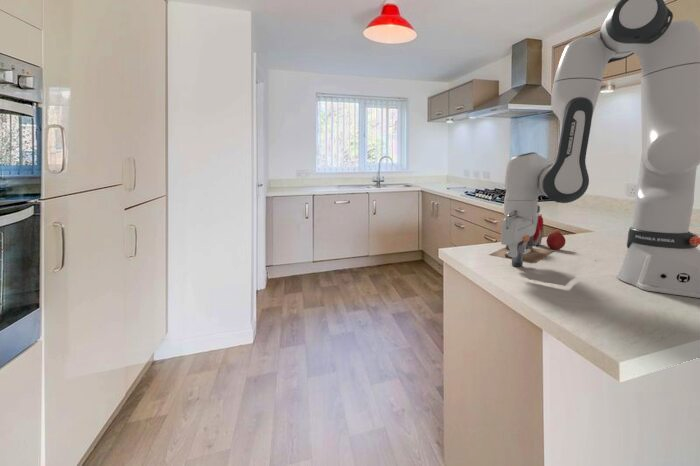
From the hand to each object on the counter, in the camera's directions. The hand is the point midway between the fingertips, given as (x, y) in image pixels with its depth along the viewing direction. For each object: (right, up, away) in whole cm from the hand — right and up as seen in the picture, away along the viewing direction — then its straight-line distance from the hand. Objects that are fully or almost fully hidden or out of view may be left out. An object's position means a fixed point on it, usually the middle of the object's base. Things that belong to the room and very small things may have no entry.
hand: (517, 254), depth 104 cm
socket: (+10, 0, +20) cm, 23 cm away
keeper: (+5, 0, +10) cm, 11 cm away
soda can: (+21, +2, +32) cm, 38 cm away
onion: (+24, 0, +21) cm, 32 cm away
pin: (0, -3, +1) cm, 3 cm away
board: (+9, -1, +16) cm, 18 cm away
